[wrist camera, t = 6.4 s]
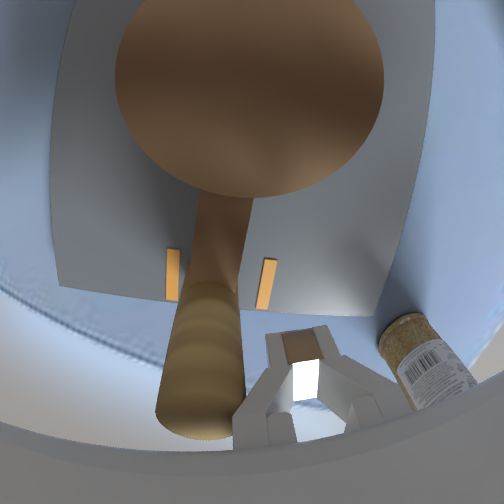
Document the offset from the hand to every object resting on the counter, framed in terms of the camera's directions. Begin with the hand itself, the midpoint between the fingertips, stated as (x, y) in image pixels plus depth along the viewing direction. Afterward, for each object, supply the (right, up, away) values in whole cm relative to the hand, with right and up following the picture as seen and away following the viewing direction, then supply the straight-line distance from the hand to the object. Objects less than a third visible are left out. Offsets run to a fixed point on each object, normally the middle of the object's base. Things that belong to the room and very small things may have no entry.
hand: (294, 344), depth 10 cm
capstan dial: (-2, +8, +2) cm, 8 cm away
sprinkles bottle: (+10, -3, +10) cm, 15 cm away
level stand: (-2, +12, +2) cm, 12 cm away
